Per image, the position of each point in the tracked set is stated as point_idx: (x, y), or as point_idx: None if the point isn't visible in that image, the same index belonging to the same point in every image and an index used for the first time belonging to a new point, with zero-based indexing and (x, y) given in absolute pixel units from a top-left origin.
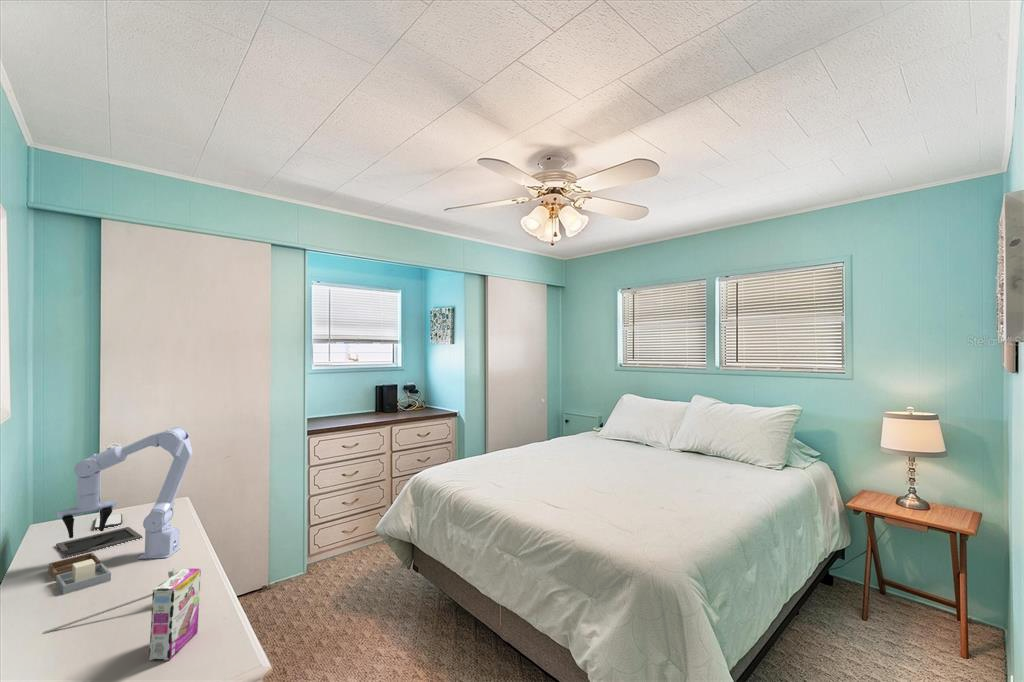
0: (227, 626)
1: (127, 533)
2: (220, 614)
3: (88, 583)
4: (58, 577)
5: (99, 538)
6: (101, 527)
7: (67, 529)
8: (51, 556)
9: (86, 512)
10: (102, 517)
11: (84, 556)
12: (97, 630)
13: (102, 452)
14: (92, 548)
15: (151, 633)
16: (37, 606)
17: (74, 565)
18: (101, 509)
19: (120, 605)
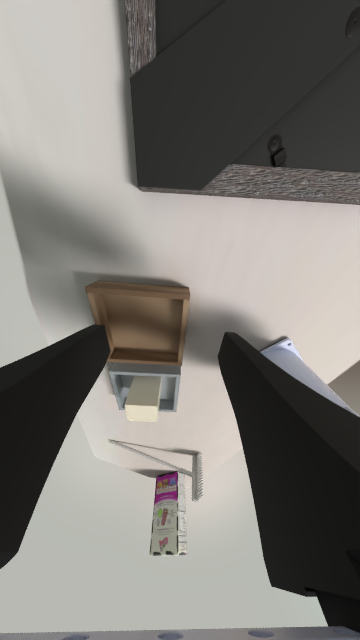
0: (198, 476)
1: None
2: (203, 470)
3: None
4: (112, 381)
5: None
6: (223, 378)
7: (46, 350)
8: (90, 69)
9: (107, 637)
10: (251, 458)
11: (169, 297)
12: (142, 452)
13: None
14: (221, 184)
15: (154, 502)
16: (98, 403)
17: (127, 412)
18: (328, 633)
19: (157, 461)
